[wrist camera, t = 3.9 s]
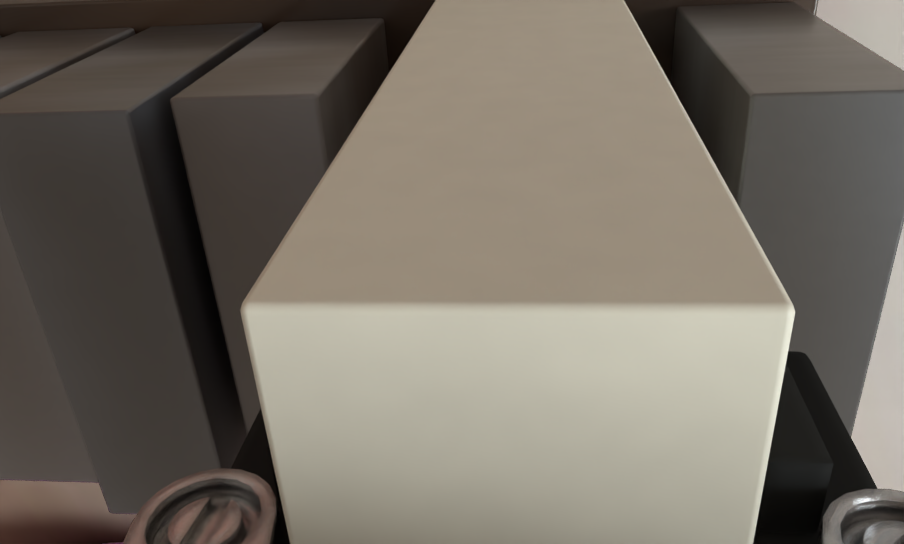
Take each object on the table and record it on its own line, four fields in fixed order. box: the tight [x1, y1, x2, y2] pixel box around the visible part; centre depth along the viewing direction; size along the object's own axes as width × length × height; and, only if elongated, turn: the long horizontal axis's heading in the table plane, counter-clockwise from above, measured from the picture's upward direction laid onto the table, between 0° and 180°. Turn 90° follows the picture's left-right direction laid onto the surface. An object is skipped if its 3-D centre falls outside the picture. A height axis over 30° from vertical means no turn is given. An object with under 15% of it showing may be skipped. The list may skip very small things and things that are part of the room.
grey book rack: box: [0, 0, 904, 514], centre depth 14 cm, size 18×8×6 cm, turn 93°
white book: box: [240, 0, 795, 544], centre depth 11 cm, size 3×8×11 cm, turn 3°
